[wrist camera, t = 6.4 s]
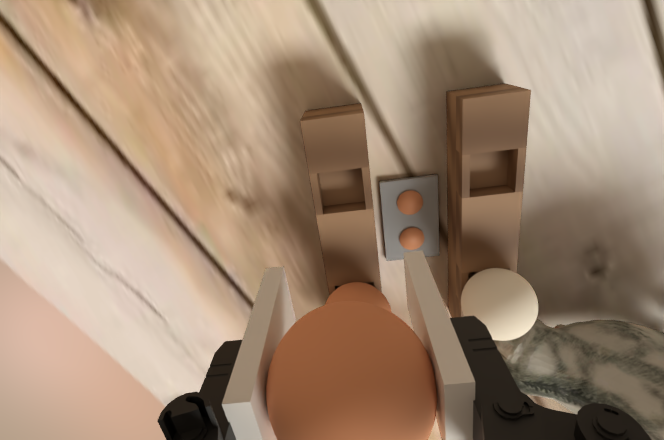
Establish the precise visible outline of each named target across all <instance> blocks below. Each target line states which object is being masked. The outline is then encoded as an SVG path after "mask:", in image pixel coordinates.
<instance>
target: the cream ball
mask: <svg viewBox="0 0 664 440" xmlns="http://www.w3.org/2000/svg"><path fill="white" fill-rule="evenodd" d="M461 308H462V312H463V315H464V316H475V317H476V318H478V319H479V320H480V321H481V322H482V323H484V324H485V325H486V327H487V329H488V331H489V333H490V334H491V336H492V339H493V340H499V341H507V340H513V339H516V338H519V337H521V336H522V335H524V334H525V333H527V332H528V331H529V330H530V329H531V327H532V326H533V325H534V323H535V321H536V318H537V315H538V300H537V296H536V294H535V291H534V290H533V288H532V286H531V285H530V284H529V283H528V282H527V280H525V279H524V278H523V277H522V276H520V275H519V274H517V273H515V272H513V271H511V270H507V269H502V268H490V269H486V270H483V271H480V272H478V273H476V274H475V275H474V276H472V277H471V278H470V279H469V280H468V282H467V283H466V285H465V286H464V289H463V291H462V295H461Z"/></svg>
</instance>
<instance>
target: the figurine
mask: <svg viewBox="0 0 664 440" xmlns="http://www.w3.org/2000/svg"><path fill="white" fill-rule="evenodd" d="M492 340H493V339H492ZM494 342H495V344H496V346H497V349H498V350H499V352H500V354H501V356H502V358H503V360H504V361H505V363H506V365H507V367H508V369H509V371H510V373H511V375H512V377H513V379H514V381H515V383H516V385H517V386H518V388H519V389H520V391H521V392H522V393H524V394H527V395H534V396H540V397H544V398H549V399H553V400H555V401H556V402H558V403H559V404H561V405H562V406H564V407H565V408H567V409H568V410H570V411H571V412H572V413H574V414H577V413H578V411H579V410H580V409H581V408H582V407H583V406H584V405H588V404H591V403H600V404H607V405H610V406H613V407H616V408H619V409H620V410H622V411H624V412H625V413H627V414H629V415H630V416H632V417H633V418H634V419H635V420H636V421H637V422H638V423H639V424H640V425H641V426H642V428H643V429H644V430H645V432H646V433H647V434H648V435H649V437H650V438H651V439H652V440H664V333H662V332H659V331H657V330H654V329H651V328H648V327H644V326H641V325H637V324H633V323H628V322H622V321H615V320H592V321H586V322H577V323H572V324H569V325H566V326H565V325H562V324H560V325H557V326H555V327H554V328H552V327H549V326H547V325H545V324H544V323H542V322H541V321H540V320H538V319H537V318H536V321H535V323H534V325H533V326H532V327H531V329H530V330H529V331H528V332H527V333H525V334H524V335H522V336H521V337H519V338H516V339H513V340H507V341H499V340H494Z"/></svg>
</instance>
